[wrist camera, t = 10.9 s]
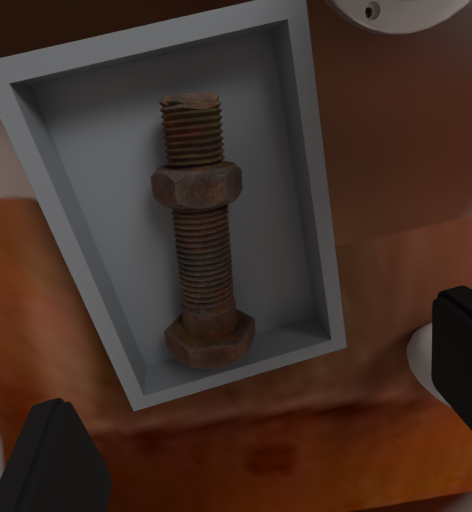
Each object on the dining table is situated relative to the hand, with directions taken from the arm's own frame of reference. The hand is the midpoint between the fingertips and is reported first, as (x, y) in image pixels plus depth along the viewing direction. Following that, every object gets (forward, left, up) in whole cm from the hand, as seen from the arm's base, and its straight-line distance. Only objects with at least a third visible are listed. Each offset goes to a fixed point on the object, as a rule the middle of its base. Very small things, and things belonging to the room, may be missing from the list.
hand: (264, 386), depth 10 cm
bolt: (0, +1, -16) cm, 16 cm away
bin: (0, 0, -17) cm, 17 cm away
